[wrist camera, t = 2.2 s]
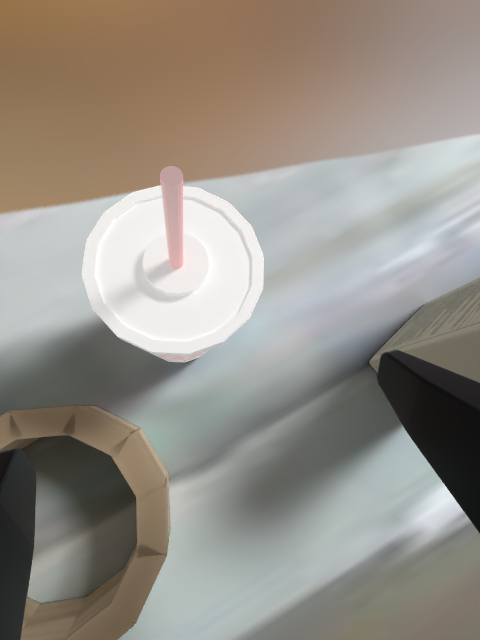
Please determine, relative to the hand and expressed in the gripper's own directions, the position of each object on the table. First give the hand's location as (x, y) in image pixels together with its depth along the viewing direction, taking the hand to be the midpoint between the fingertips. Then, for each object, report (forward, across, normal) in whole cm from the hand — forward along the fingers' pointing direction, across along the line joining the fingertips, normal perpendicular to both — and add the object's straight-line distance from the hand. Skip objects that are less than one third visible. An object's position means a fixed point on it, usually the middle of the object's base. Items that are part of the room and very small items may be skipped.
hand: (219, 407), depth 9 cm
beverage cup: (+12, 0, +5) cm, 13 cm away
